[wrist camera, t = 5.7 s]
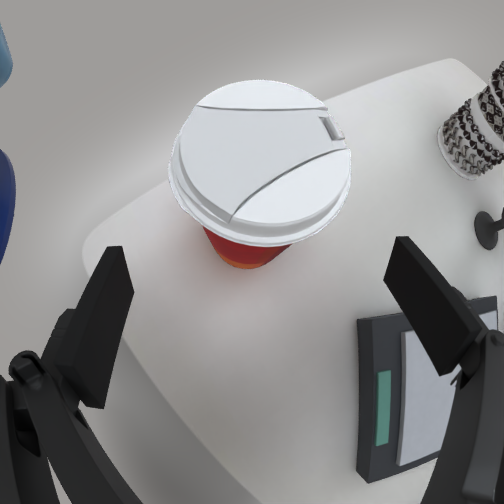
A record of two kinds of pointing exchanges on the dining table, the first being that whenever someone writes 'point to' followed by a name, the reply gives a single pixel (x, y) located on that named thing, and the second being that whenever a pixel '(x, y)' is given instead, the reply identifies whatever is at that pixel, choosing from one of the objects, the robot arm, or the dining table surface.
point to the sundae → (488, 229)
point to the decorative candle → (476, 131)
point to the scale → (402, 395)
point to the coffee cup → (260, 169)
